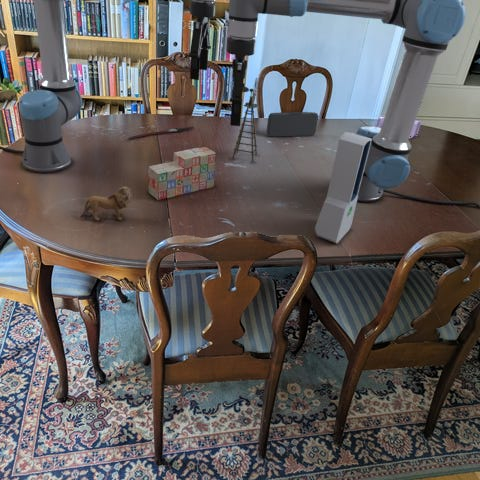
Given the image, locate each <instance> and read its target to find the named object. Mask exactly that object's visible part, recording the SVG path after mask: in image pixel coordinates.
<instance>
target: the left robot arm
mask: <svg viewBox="0 0 480 480" xmlns="http://www.w3.org/2000/svg"><path fill="white" fill-rule="evenodd" d="M215 2H216V0H191V1H190V2H189V14H190V15H191V16H193V17H196V19H195V20H194V21H193V22H192V23H193V24H192V35H191V41H190V42H191V43H190V50H189V53H188V55H187V56H188V58H190V72H189V80H194V81H199V80H200V72H201V71H208V62H209V60H208V59H209V50H211V49H212V45H211V36H210V35H211V31H210V29H211V28H210V22H211V21H210V20H211V18H214V17H215V16H216V3H215ZM33 9H34V16H35V24H36V33H37V41H38V47H39V48H38V49H39V55H40V62H41V63H40V64H41V70H42V78H41V79H40V80H39V82H38V87H39V89H37V90H36V89H35V90H33V91H28V92H25V93H24V94H22V95H21V96H20V98H19V100H18V105H19V106H18V111H19V114H20V119H21V126H22V132H23V136H24V148H23V150H19V149H12V148H8V147H4V146H0V150H2V151H5V152H8V153H14V154H22V158H21V159H22V160H21V161H22V166H23V168H24V169H25V170H27V171H29V172H33V173H39V174H46V173H56V172H61V171H63V170H66V169H67V168H69V167H70V166H71V163H72V159H71V154H70V152H69V150H67V149H68V148H67V147H66V145H65V143H64V140H63V132H62V126H64V125H65V124H67V123H68V122H70V121H71V120H73V119H74V118H76V117H77V116H78V114H79V113H80V112H81V110H82V107H83V98H82V93H80V91H79V90H78V89H77V86H76V81H75V80H74V79H72V78H71V72H70V62H69V52H68V43H67V42H68V41H67V40H68V39H67V30H66V22H65V21H66V20H65V9H64V0H33ZM200 70H201V71H200Z"/></svg>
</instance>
